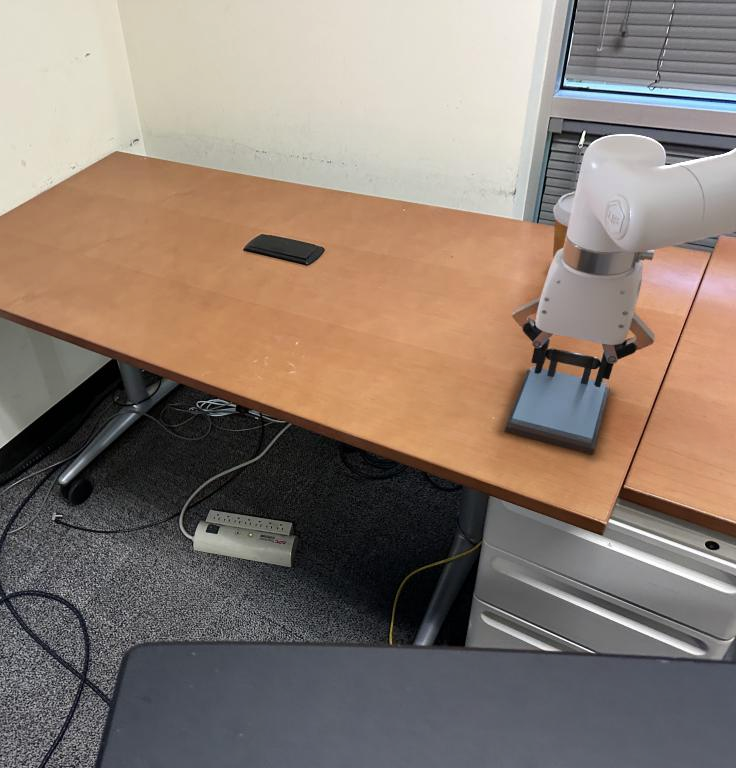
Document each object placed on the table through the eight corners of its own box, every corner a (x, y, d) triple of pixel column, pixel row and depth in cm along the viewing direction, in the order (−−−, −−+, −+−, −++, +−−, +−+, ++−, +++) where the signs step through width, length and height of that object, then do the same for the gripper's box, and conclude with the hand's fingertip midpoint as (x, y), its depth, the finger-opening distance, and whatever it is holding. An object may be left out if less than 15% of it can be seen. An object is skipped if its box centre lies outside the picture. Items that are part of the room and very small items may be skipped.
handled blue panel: (531, 369, 92) (537, 341, 89) (606, 386, 88) (614, 357, 85) (511, 421, 85) (517, 393, 82) (591, 442, 81) (600, 412, 78)
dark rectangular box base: (526, 375, 93) (528, 364, 92) (608, 393, 88) (611, 382, 87) (504, 431, 85) (506, 421, 84) (592, 455, 81) (595, 444, 80)
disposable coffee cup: (617, 268, 109) (637, 198, 101) (589, 295, 104) (607, 224, 97) (558, 252, 115) (573, 184, 107) (529, 276, 110) (542, 208, 103)
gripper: (692, 246, 75) (648, 372, 87) (526, 225, 83) (505, 343, 95) (686, 281, 71) (640, 409, 82) (511, 255, 78) (491, 375, 90)
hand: (568, 372), depth 88 cm, fingers closed on handled blue panel, 6 cm apart
